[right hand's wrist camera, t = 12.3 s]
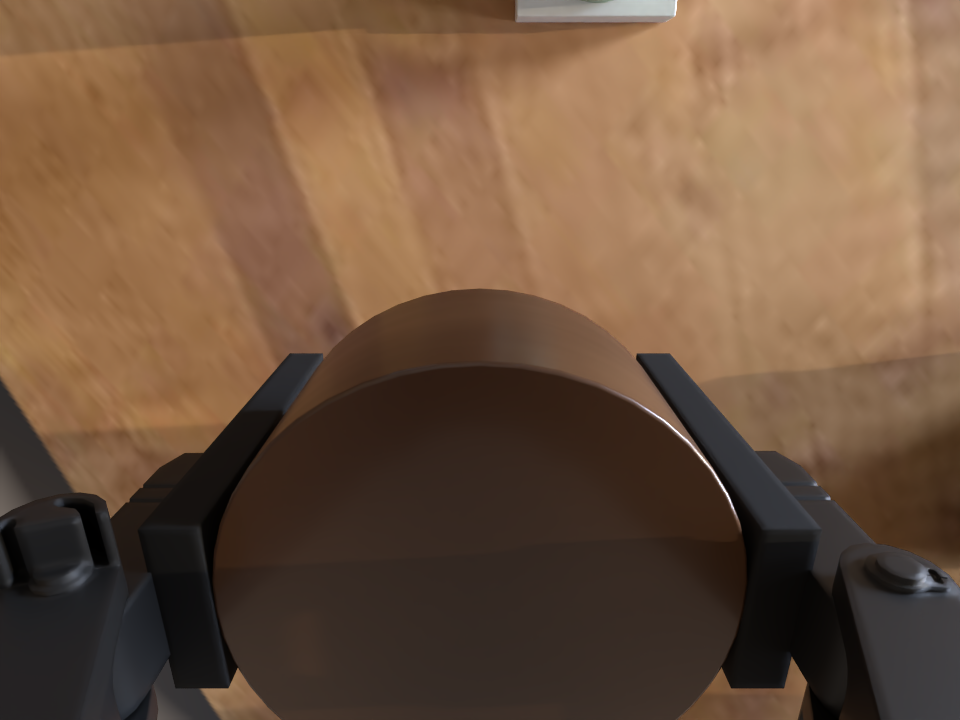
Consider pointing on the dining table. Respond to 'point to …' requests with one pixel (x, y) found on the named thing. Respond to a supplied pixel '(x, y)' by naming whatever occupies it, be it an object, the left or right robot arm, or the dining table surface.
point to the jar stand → (594, 10)
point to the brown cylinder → (479, 529)
